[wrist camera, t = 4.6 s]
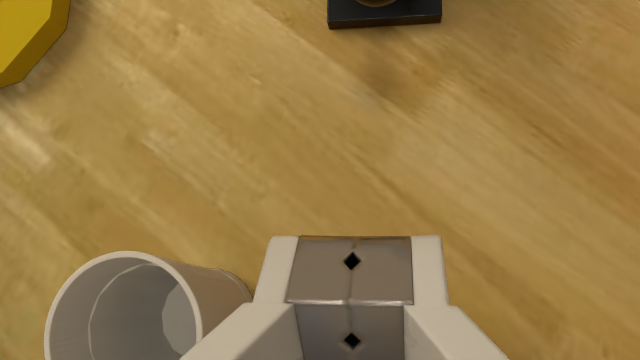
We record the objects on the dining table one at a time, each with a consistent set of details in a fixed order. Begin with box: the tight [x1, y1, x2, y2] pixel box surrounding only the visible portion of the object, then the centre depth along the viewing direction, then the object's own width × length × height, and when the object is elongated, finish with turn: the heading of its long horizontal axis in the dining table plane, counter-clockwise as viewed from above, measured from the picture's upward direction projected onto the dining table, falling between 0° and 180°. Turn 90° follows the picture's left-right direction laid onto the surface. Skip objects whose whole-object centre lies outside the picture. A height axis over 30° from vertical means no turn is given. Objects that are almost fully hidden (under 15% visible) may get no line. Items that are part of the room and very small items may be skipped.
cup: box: [44, 251, 253, 360], centre depth 31 cm, size 8×8×12 cm
